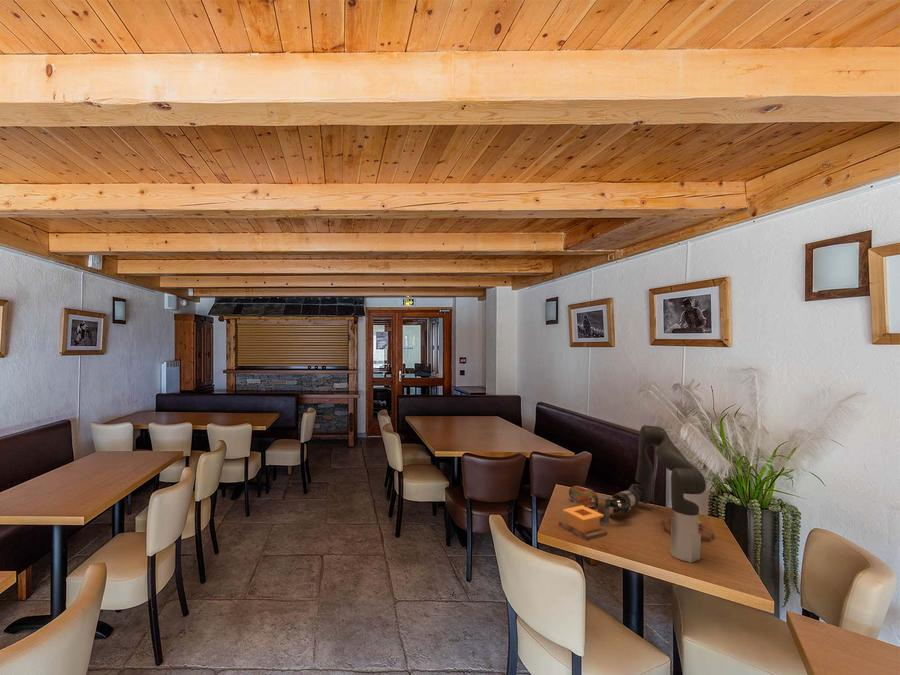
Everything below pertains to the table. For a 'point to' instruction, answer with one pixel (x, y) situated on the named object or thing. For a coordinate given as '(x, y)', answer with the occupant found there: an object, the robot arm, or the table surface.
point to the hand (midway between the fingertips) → (605, 508)
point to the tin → (583, 496)
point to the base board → (587, 534)
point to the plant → (703, 529)
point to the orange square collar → (583, 518)
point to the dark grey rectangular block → (604, 509)
